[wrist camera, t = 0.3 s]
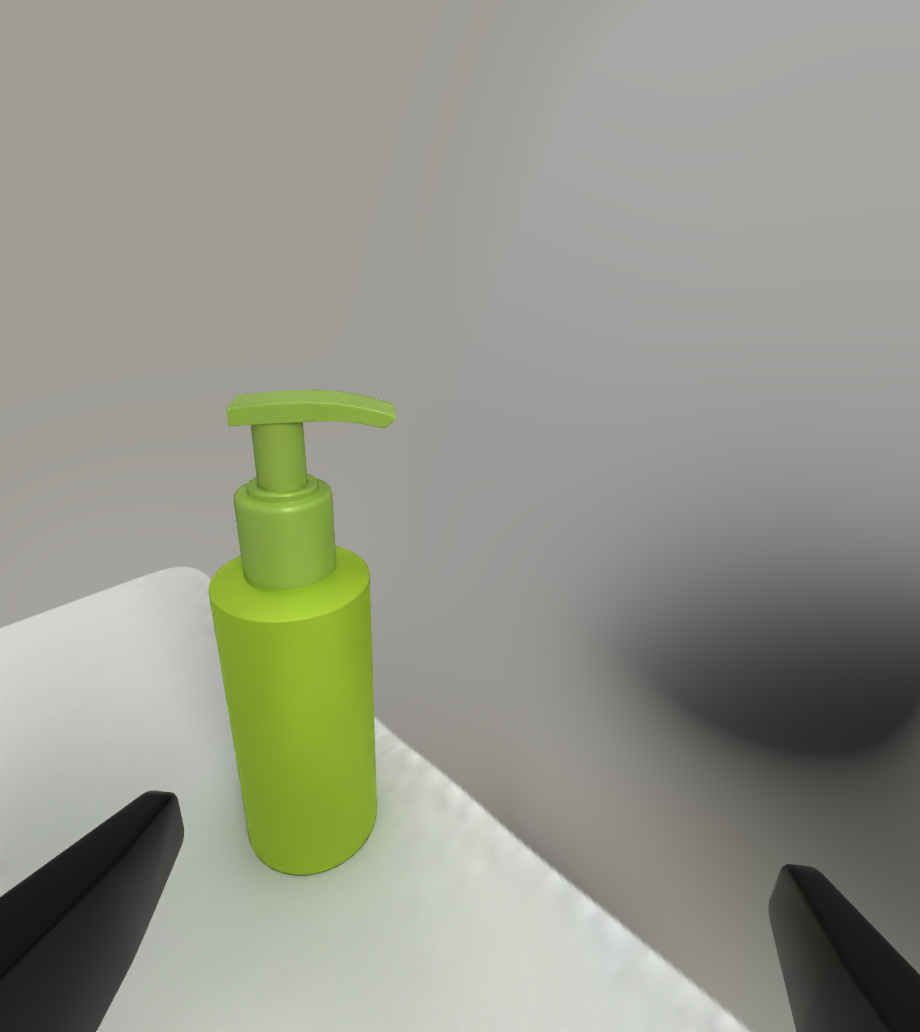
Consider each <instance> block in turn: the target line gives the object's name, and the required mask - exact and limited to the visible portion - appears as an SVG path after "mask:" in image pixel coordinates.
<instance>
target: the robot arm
mask: <svg viewBox="0 0 920 1032" xmlns="http://www.w3.org/2000/svg"><path fill="white" fill-rule="evenodd" d="M183 838H184V826H183V821H182V817H181V812H180V807H179V802H178V798H177V796H176V795H175V794H174V793H171V792H162V791H148V792H146V793H144V794H142V795H141V796H139V797H138V798H137V799H135V800H134V801H132V802H131V803H130V804H128V805H127V806H125V807H124V808H123V809H121V810H120V811H119V812H117V813H116V814H114V815H113V816H112V817H110V818H109V819H108V820H106V821H105V822H103V823H102V824H101V825H99V826H98V827H96V828H95V829H94V830H92V831H91V832H90V833H88V834H87V835H85V836H84V837H83V838H81V839H80V840H79V841H77V842H76V843H74V844H73V845H72V846H70V847H69V848H67V849H66V850H65V851H63V852H62V853H61V854H59V855H58V856H56V857H55V858H54V859H52V860H51V861H50V862H48V863H47V864H45V865H44V866H43V867H41V868H40V869H38V870H37V871H36V872H34V873H33V874H32V875H30V876H29V877H27V878H26V879H25V880H23V881H22V882H20V883H19V884H18V885H16V886H15V887H14V888H12V889H11V890H9V891H8V892H7V893H5V894H4V895H3V896H1V897H0V1032H96V1031H97V1029H98V1027H99V1026H100V1024H101V1022H102V1020H103V1018H104V1016H105V1014H106V1012H107V1010H108V1008H109V1006H110V1004H111V1003H112V1001H113V999H114V997H115V995H116V993H117V991H118V989H119V987H120V985H121V983H122V981H123V980H124V978H125V976H126V974H127V972H128V970H129V968H130V966H131V964H132V962H133V960H134V958H135V955H136V953H137V951H138V949H139V946H140V944H141V942H142V940H143V937H144V935H145V933H146V930H147V928H148V925H149V923H150V920H151V918H152V916H153V913H154V911H155V908H156V906H157V904H158V901H159V899H160V896H161V894H162V892H163V889H164V887H165V884H166V882H167V880H168V877H169V875H170V872H171V870H172V868H173V865H174V863H175V860H176V858H177V856H178V853H179V851H180V848H181V846H182V842H183ZM768 908H769V909H768V910H769V918H770V923H771V927H772V931H773V936H774V940H775V944H776V948H777V953H778V957H779V961H780V965H781V969H782V974H783V977H784V982H785V986H786V990H787V995H788V999H789V1003H790V1007H791V1011H792V1016H793V1020H794V1024H795V1028H796V1032H920V975H919V974H918V973H917V972H916V970H915V969H914V968H913V967H912V966H911V965H910V964H909V963H908V962H907V961H906V960H905V959H904V958H903V957H902V956H901V955H900V954H899V953H898V952H897V951H896V950H895V949H894V948H893V947H892V946H891V945H890V944H889V943H888V941H887V940H886V939H885V938H884V937H883V936H882V935H881V934H880V933H879V932H878V931H877V930H876V929H875V928H874V927H873V926H872V925H871V924H870V923H869V922H868V921H867V920H866V919H865V918H864V917H863V916H862V915H861V913H859V911H858V910H857V909H856V908H855V907H854V906H853V905H852V904H851V903H850V902H849V901H848V900H847V899H846V898H845V897H844V896H843V895H842V894H841V893H840V892H839V891H838V890H837V889H836V888H835V887H834V885H833V884H832V883H830V881H829V880H828V879H827V878H826V877H825V876H824V875H823V874H822V873H821V872H819V871H818V870H817V869H815V868H813V867H809V866H800V865H792V864H787V865H785V866H783V867H782V869H781V871H780V873H779V876H778V878H777V881H776V884H775V886H774V889H773V891H772V894H771V897H770V900H769V906H768Z"/></svg>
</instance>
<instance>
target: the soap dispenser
mask: <svg viewBox="0 0 920 1032" xmlns="http://www.w3.org/2000/svg"><path fill="white" fill-rule="evenodd" d="M227 418H228V425H229V426H242V425H251V432H252V440H253V449H254V458H255V466H256V475H257V477H255V478H253V479H252V480H250V481H249V482H248V483H246V484H244V485H243V486H241V487H240V488H239V489H238V490H237V491H236V492H235V494H234V507H235V514H236V521H237V529H238V536H239V544H240V552H241V556H239V557H237V558H235V559H233V560H231V561H230V562H228V563H227V564H225V565H224V566H223V567H222V568H220V569H219V571H217V572H216V574H215V575H214V576H213V578H212V580H211V582H210V585H209V598H210V604H211V610H212V616H213V622H214V628H215V634H216V640H217V646H218V652H219V658H220V664H221V670H222V676H223V682H224V688H225V694H226V700H227V706H228V712H229V718H230V724H231V730H232V736H233V742H234V748H235V754H236V760H237V766H238V772H239V778H240V785H241V791H242V797H243V803H244V809H245V815H246V821H247V827H248V833H249V838H250V842H251V845H252V848H253V850H254V852H255V853H256V855H257V856H258V857H259V858H260V859H261V860H262V861H263V862H264V863H265V864H266V865H268V866H269V867H271V868H273V869H275V870H277V871H280V872H283V873H287V874H294V875H307V874H314V873H319V872H322V871H326V870H328V869H331V868H333V867H335V866H337V865H339V864H341V863H343V862H344V861H346V860H347V859H348V858H350V857H351V856H352V855H353V854H355V853H356V852H357V851H358V850H359V849H360V848H361V846H362V845H363V844H364V843H365V841H366V840H367V838H368V837H369V835H370V833H371V831H372V829H373V826H374V823H375V819H376V813H377V800H376V767H375V734H374V704H373V669H372V636H371V604H370V573H369V569H368V566H367V564H366V563H365V562H364V560H362V559H361V557H359V556H358V555H357V554H355V553H353V552H351V551H350V550H347V549H344V548H342V547H338V546H335V533H334V516H333V499H332V491H331V487H330V486H329V485H328V484H327V483H326V482H324V481H322V480H320V479H317V478H315V477H314V476H312V475H310V474H307V470H306V458H305V444H304V431H303V422H313V421H339V422H352V423H359V424H365V425H370V426H375V427H381V428H386V427H387V426H389V425H390V424H391V423H392V422H393V421H394V420H395V419H396V413H395V409H394V405H393V404H391V403H389V402H386V401H383V400H380V399H376V398H372V397H368V396H364V395H358V394H353V393H346V392H340V391H328V390H293V391H277V392H265V393H254V394H244V395H237V396H236V397H235V399H234V400H233V401H232V403H231V404H230V405H229V407H228V408H227Z"/></svg>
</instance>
